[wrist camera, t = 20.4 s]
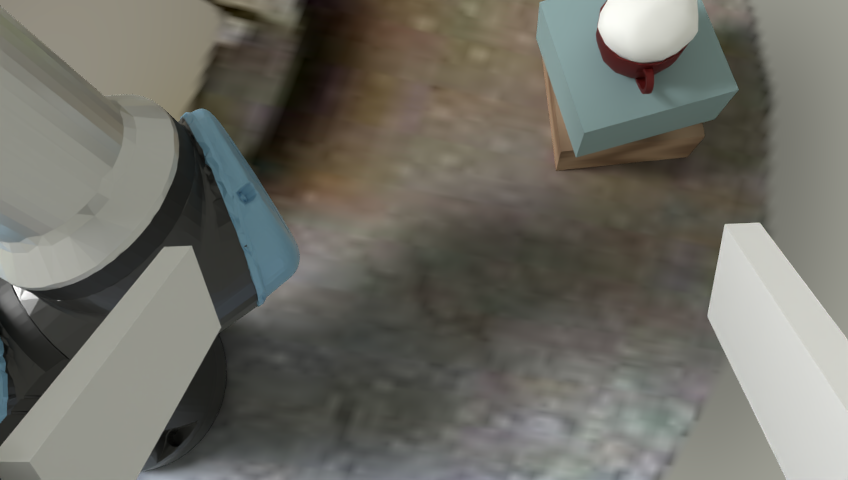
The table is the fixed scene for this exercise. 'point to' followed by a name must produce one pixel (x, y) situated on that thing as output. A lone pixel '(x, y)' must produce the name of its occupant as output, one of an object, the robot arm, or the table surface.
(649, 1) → the cocoa
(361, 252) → the table surface
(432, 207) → the table surface
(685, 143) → the tower base
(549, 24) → the tower top
